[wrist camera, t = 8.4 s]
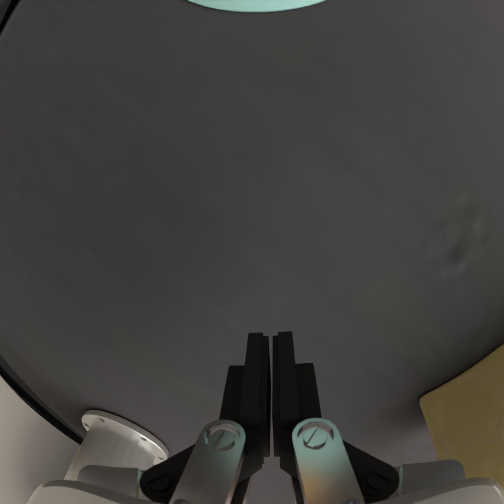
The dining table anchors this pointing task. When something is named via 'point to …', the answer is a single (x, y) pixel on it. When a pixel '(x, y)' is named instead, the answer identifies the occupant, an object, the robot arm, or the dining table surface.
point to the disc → (255, 5)
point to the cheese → (471, 418)
